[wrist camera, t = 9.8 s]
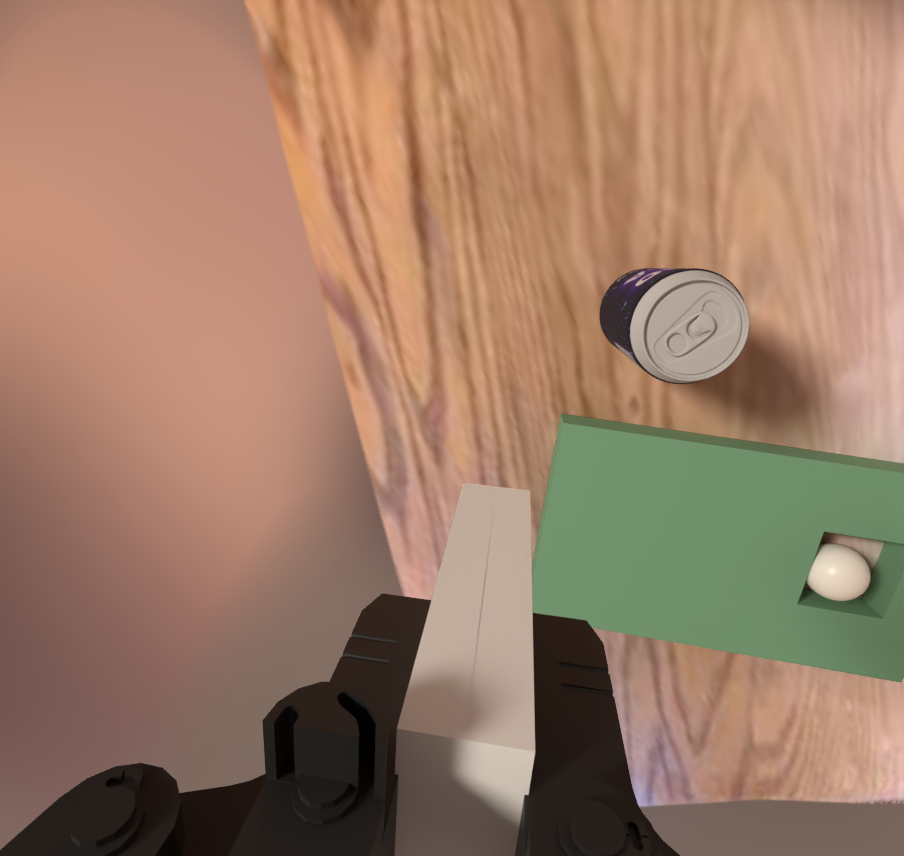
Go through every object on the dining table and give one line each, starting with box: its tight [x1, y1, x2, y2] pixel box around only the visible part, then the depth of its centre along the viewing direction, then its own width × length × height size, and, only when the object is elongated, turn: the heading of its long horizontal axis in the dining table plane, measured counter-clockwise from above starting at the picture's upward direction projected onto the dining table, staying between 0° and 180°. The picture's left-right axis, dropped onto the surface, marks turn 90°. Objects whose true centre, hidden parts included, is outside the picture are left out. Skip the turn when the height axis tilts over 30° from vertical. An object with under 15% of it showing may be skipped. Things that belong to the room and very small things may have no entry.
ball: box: [806, 543, 871, 601], centre depth 38 cm, size 4×4×4 cm
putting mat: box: [532, 414, 904, 682], centre depth 39 cm, size 16×28×2 cm, turn 83°
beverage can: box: [600, 268, 749, 384], centre depth 31 cm, size 6×6×12 cm
